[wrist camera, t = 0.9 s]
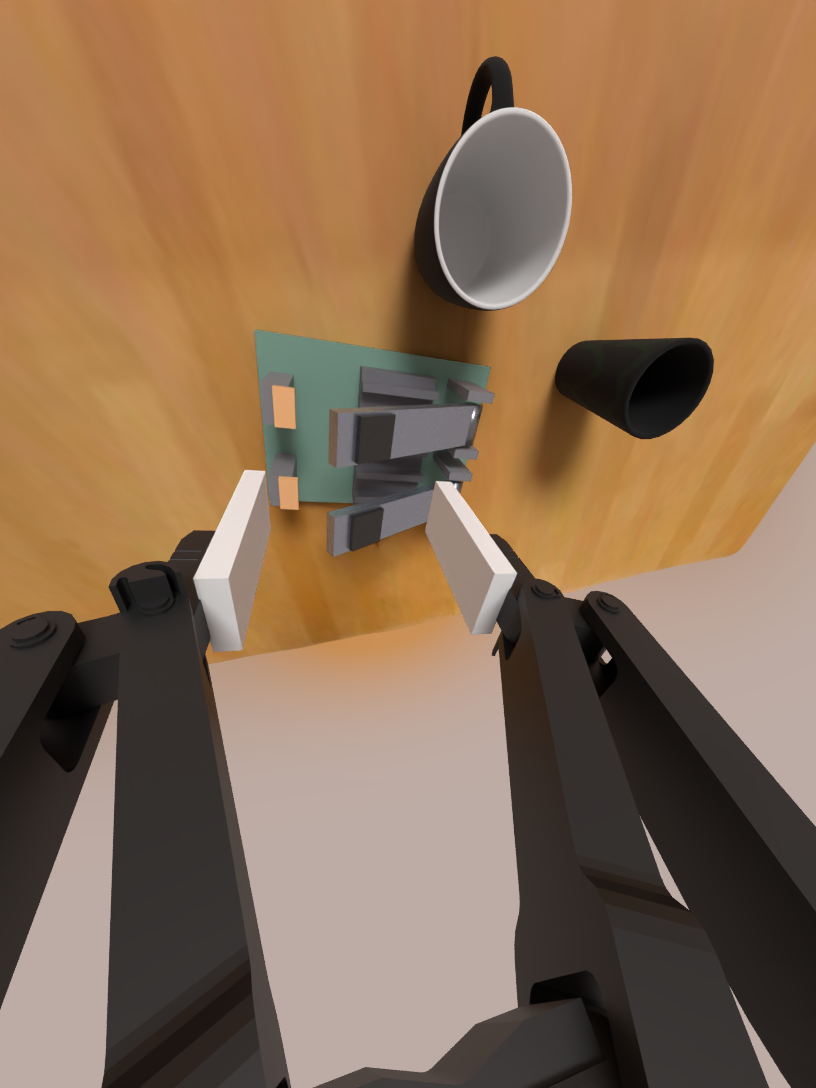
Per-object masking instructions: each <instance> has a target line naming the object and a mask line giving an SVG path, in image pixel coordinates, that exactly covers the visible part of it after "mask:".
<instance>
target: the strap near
mask: <svg viewBox="0 0 816 1088" xmlns="http://www.w3.org/2000/svg"><path fill="white" fill-rule="evenodd" d="M482 408H483V405H481V404H478V403H474V402H466V403H452V404H429V405H406V406H384V407H361V408H338V409H329V450H328V463H329V464H330V465H332V466H333V467H335V468H342V467H347V466H353V465H359V464H364V463H370V462H375V461H381V460H387V459H392V458H398V457H403V456H409V455H415V454H420V453H426V452H431V451H437V450H443V449H448V448H454V447H459V446H472V445H473V442H474V439H475V435H476V431H477V427H478V423H479V420H480V416H481V412H482Z"/></svg>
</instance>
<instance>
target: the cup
mask: <svg viewBox="0 0 816 1088" xmlns="http://www.w3.org/2000/svg"><path fill="white" fill-rule="evenodd" d="M713 365H714V359H713V355H712V351H711V349H710V347H709V346H708V345H707V343H706V342H704V341H702V340H700V339H697V338H664V339H629V340H594V341H582V342H579V343H577V344H575V345H573V346H572V347H571V348H570V349H569V350H568V351H567V352H566V353H565V354H564V355H563V357H562V359H561V360H560V362H559V364H558V367H557V370H556V376H555V377H556V386H557V388H558V390H559V392H560V393H562V394H563V395H564V396H566V397H568V398H569V399H571V400H573V401H574V402H576V403H578V404H579V405H581V406H583V407H584V408H586V409H588V410H590V411H591V412H593V413H595V414H596V415H598V416H600V417H601V418H603V419H605V420H607V421H608V422H610V423H612V424H613V425H615V426H617V427H618V428H620V429H622V430H623V431H625V432H627V433H629V434H630V435H632V436H634V437H637V438H639V439H652V438H656V437H660V436H662V435H664V434H666V433H668V432H670V431H671V430H673V429H674V428H676V427H677V426H679V425H680V424H681V423H682V422H683V421H684V420H685V419H686V418H688V417H689V416H690V414H691V413H692V412H693V411H694V410H695V408H696V407H697V406H698V405H699V403H700V401H701V400H702V398H703V397H704V395H705V393H706V391H707V389H708V387H709V384H710V382H711V378H712V374H713Z"/></svg>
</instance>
